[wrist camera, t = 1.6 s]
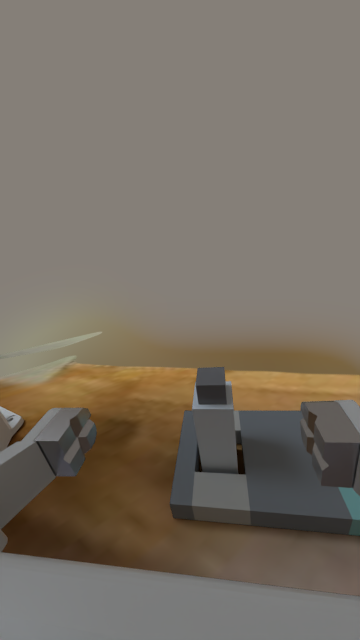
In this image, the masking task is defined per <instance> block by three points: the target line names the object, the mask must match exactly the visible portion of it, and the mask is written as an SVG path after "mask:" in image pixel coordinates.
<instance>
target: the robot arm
mask: <svg viewBox="0 0 360 640" xmlns="http://www.w3.org/2000/svg"><path fill="white" fill-rule="evenodd" d="M301 413H302V415H303V417H304V418H303V419H302V420H301V421H300V430H301V437H302V440H303V443H304V446H305V449H306V451H307V452H308V453H310V454H311V455H312V466H313V468H314V471H315V473H316V475H317V478H318V480H319V483H320V485H321V486H329V487H344V488H353V490H354V491H355V492H356V493H357V494H358V495H359V496H360V407H359V406H358V404H357V403H356V402H355V401H353V400H338V401H315V402H302V404H301ZM90 416H91V414H90V412H89V410H88V409H87V408H53V409H51V410H49V411H48V412H47V413H46V414H45V415H44V416H43V417H42V419H41V420H40V421H39V422H38V423H37V424H36V425H35V426H34V427H33V428H32V430H31V431H30V432H29V433H28V434H27V435H26V436H25V437H24V438H23V439H22V441H21V442H16V443H14V444H12V445H11V446H9V447H8V448H7V446H8V444H9V442H10V440H11V438H12V436H13V435H14V434H15V433H16V431H17V430H18V429H19V428H20V427H21V426H22V424H23V422H24V420H23V419H22V417H21V416H19V415H17V414H15V413H13V412H11V411H9V410H7V409H4V408H2V407H0V640H360V596H354V595H346V594H338V593H329V592H321V591H313V590H305V589H297V588H289V587H281V586H273V585H264V584H256V583H248V582H240V581H232V580H224V579H216V578H208V577H199V576H191V575H183V574H175V573H167V572H159V571H151V570H143V569H135V568H126V567H118V566H110V565H102V564H94V563H86V562H78V561H69V560H61V559H53V558H45V557H37V556H29V555H20V554H12V553H4V552H2V550H3V549H4V547H5V546H6V544H7V539H8V538H7V536H6V535H5V534H4V533H3V531H2V530H1V529H2V528H3V527H4V526H5V525H6V524H7V523H8V522H9V521H10V520H11V519H12V518H13V517H14V516H15V515H17V514H18V513H19V512H20V511H21V510H22V509H23V508H24V507H25V506H26V505H27V504H28V503H29V502H30V501H31V500H32V499H33V498H35V497H36V496H37V495H38V494H39V493H40V492H41V491H42V490H43V489H44V488H45V487H46V486H47V485H48V484H49V483H50V482H51V481H53V480H54V479H55V476H76V475H77V473H78V471H79V470H80V468H81V466H82V464H83V463H84V461H85V453H86V452H87V451H89V450H90V449H91V448H92V446H93V444H94V442H95V439H96V434H97V432H96V426H95V424H94V423H93V422H92V421H91V420H90Z"/></svg>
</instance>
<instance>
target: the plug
mask: <svg viewBox="0 0 360 640" xmlns="http://www.w3.org/2000/svg"><path fill="white" fill-rule="evenodd" d="M192 412H193V418H194V423H195V429H196V435H197V441H198V447H199V453H200V459H201V465H202V471H203V472H207V473H225V474H238V464H237V450H236V436H235V422H234V409H233V398H232V387H231V381H229V382H225V371H224V367H214V368H198V370H197V379H196V382H195V390H194V398H193V406H192Z"/></svg>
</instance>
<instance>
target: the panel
mask: <svg viewBox="0 0 360 640" xmlns="http://www.w3.org/2000/svg"><path fill="white" fill-rule="evenodd" d="M303 418H304V417H303V415H302V413H301V411H234V422H235V436H236V444H242V452H243V461H244V470H245V475H243V474H225V473H207V472H198V469H199V455H200V453H199V447H198V441H197V435H196V429H195V423H194V418H193V412H192V411H185V412H184V418H183V424H182V430H181V437H180V443H179V449H178V455H177V461H176V468H175V474H174V480H173V486H172V492H171V498H170V507H171V510H172V514H173V518H180V519H190V520H200V521H211V522H221V523H232V524H242V525H252V526H263V527H273V528H283V529H294V530H304V531H314V532H325V533H335V534H345V535H356V536H360V496H359V495H358V494H357V493H356V492H355V491H354V490H353V488H344V487H329V486H321V485H320V483H319V480H318V478H317V475H316V473H315V471H314V468H313V466H312V455H311V454H310V453H308V452H307V451H306V449H305V446H304V443H303V440H302V437H301V430H300V421H301V420H302V419H303Z"/></svg>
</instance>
